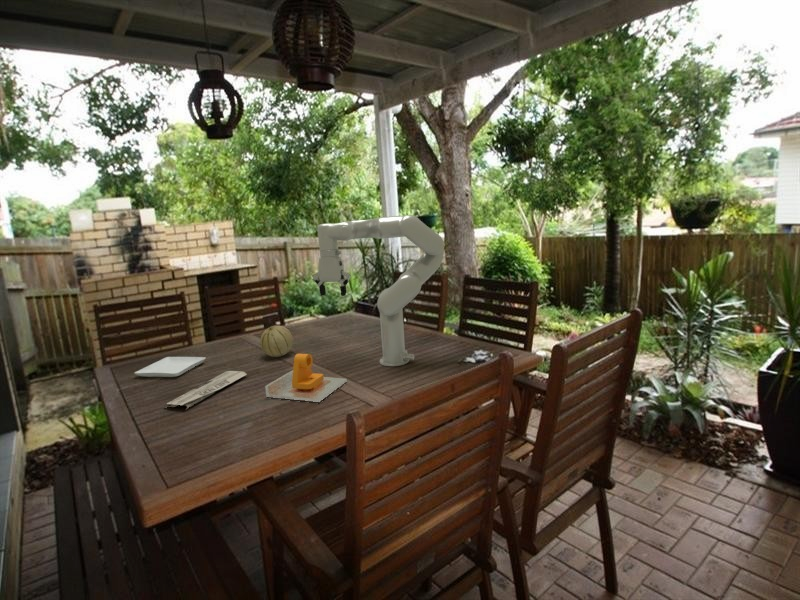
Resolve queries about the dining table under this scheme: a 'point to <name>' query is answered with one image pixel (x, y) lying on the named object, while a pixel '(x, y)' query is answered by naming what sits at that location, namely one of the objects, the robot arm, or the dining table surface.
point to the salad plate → (170, 366)
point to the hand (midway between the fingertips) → (333, 295)
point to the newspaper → (206, 389)
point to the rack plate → (285, 390)
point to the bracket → (305, 373)
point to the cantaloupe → (276, 341)
